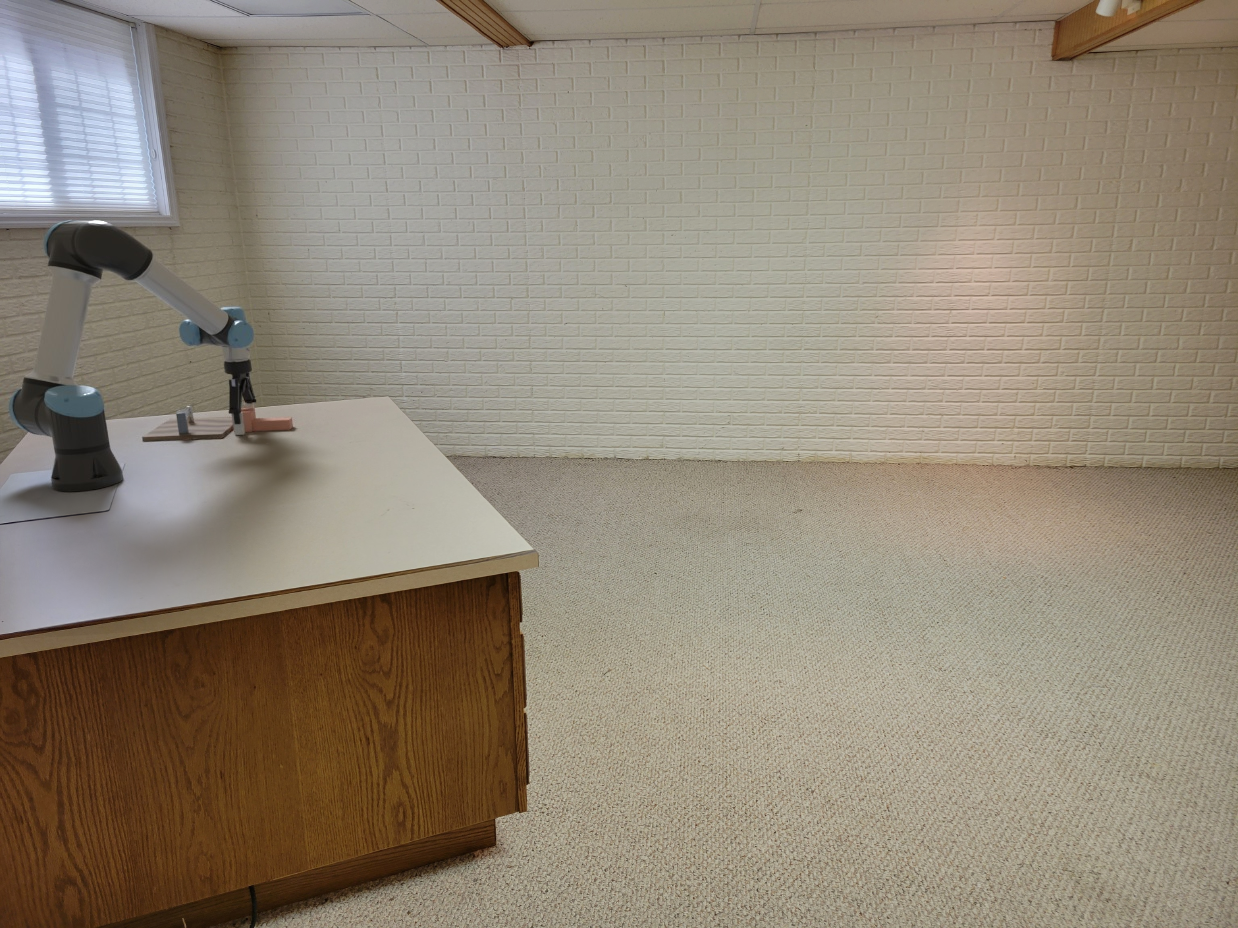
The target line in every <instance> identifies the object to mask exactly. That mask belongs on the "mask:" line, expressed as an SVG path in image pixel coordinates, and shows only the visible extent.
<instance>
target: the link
mask: <svg viewBox="0 0 1238 928" xmlns="http://www.w3.org/2000/svg"><path fill="white" fill-rule="evenodd" d="M241 413H242V414H243V422H244V430H245V433H246V432H249V433H250V432H259V431H260V432H261V431H286V430H287V431H290V430H291V429H292V428H293V427H294V423H293V417H292V416H289V417H287V416H286V417H282V416H281V417H258V418H257V417H256V409H255V407H254V408H249V409H245V408H241ZM231 417H232V416H231ZM232 422H233V417H232ZM233 431H234V424H233Z"/></svg>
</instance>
